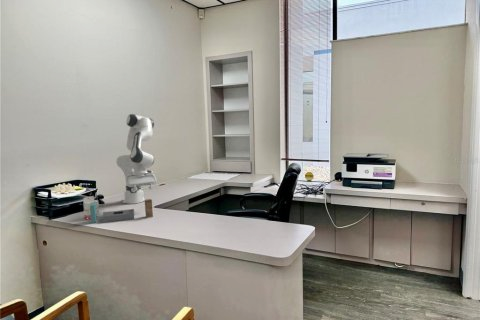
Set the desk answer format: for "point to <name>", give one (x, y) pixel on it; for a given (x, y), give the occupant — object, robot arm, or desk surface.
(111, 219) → the metal bore block
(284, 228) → the desk surface
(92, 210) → the teal flat bit
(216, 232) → the desk surface
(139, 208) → the desk surface
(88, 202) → the ink cartridge box
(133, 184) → the robot arm
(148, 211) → the walnut square bit
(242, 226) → the desk surface
